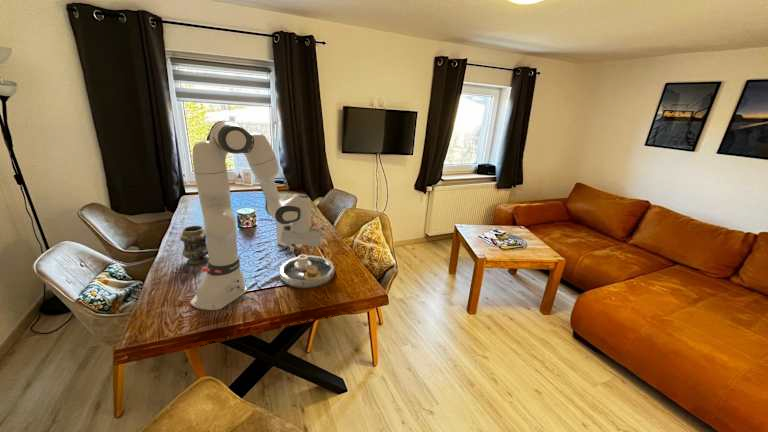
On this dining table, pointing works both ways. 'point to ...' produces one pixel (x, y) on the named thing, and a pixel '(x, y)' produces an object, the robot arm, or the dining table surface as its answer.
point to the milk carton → (279, 229)
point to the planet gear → (301, 262)
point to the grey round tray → (307, 273)
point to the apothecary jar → (194, 245)
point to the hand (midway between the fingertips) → (301, 251)
